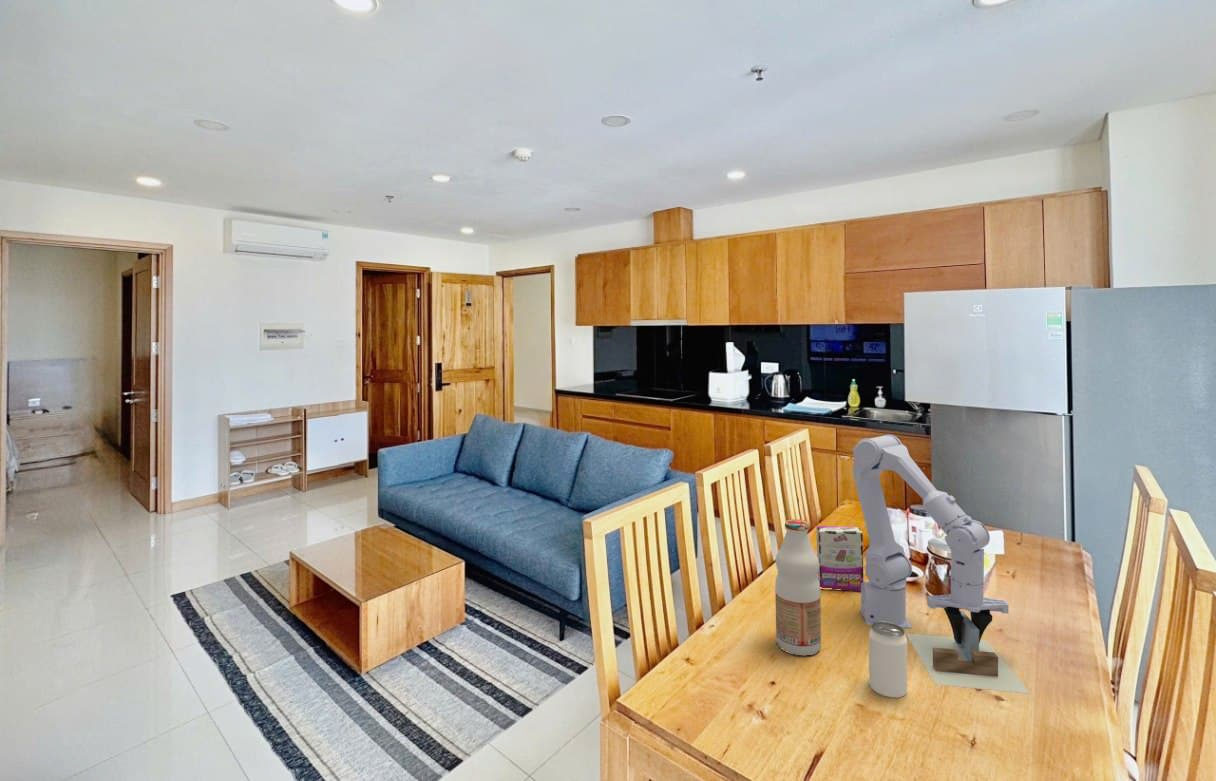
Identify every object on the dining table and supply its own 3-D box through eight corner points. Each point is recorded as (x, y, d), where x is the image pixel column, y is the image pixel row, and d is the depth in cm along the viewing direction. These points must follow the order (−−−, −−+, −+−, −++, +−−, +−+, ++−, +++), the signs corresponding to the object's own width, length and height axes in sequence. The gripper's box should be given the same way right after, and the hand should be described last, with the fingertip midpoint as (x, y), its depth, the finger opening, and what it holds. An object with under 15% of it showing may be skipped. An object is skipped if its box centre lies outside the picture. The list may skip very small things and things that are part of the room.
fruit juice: (777, 655, 117) (775, 528, 115) (775, 632, 126) (773, 514, 124) (824, 659, 115) (822, 530, 113) (818, 636, 124) (816, 516, 122)
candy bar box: (859, 584, 149) (859, 526, 148) (864, 592, 144) (863, 532, 143) (816, 582, 152) (815, 524, 151) (819, 590, 147) (818, 530, 146)
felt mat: (935, 685, 105) (935, 684, 105) (905, 634, 123) (905, 633, 123) (1031, 695, 101) (1031, 693, 101) (985, 641, 119) (985, 639, 119)
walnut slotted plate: (935, 671, 109) (935, 651, 108) (932, 666, 110) (932, 647, 110) (998, 676, 106) (998, 657, 106) (994, 671, 108) (994, 652, 107)
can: (905, 703, 100) (906, 641, 99) (867, 693, 103) (867, 632, 102) (908, 684, 105) (908, 625, 104) (871, 675, 109) (871, 617, 108)
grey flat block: (969, 662, 111) (970, 629, 111) (954, 641, 119) (955, 610, 118) (978, 663, 111) (979, 630, 110) (962, 642, 118) (963, 611, 118)
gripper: (935, 585, 111) (934, 649, 112) (1016, 590, 108) (1015, 655, 109) (923, 571, 118) (923, 631, 119) (999, 575, 115) (998, 637, 116)
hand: (966, 642), depth 115 cm, fingers open, 3 cm apart
